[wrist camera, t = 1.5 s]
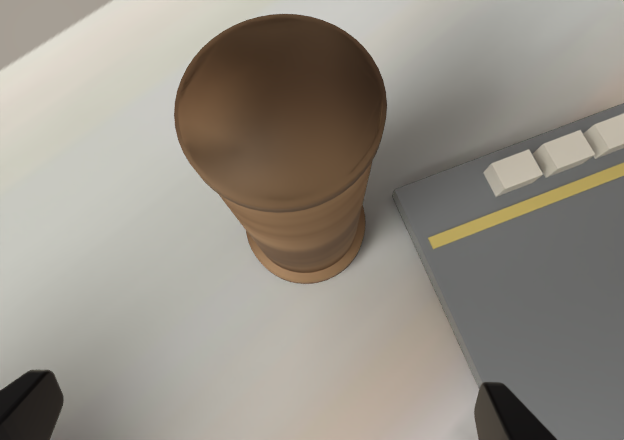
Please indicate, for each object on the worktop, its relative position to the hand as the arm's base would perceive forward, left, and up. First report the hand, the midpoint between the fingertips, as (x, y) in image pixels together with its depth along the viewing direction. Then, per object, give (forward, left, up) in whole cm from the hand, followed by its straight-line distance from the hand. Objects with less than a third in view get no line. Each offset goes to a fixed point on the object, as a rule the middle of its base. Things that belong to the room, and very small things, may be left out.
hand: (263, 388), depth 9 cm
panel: (-1, -14, -13) cm, 19 cm away
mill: (+6, -3, -13) cm, 14 cm away
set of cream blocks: (+5, -16, -12) cm, 20 cm away
